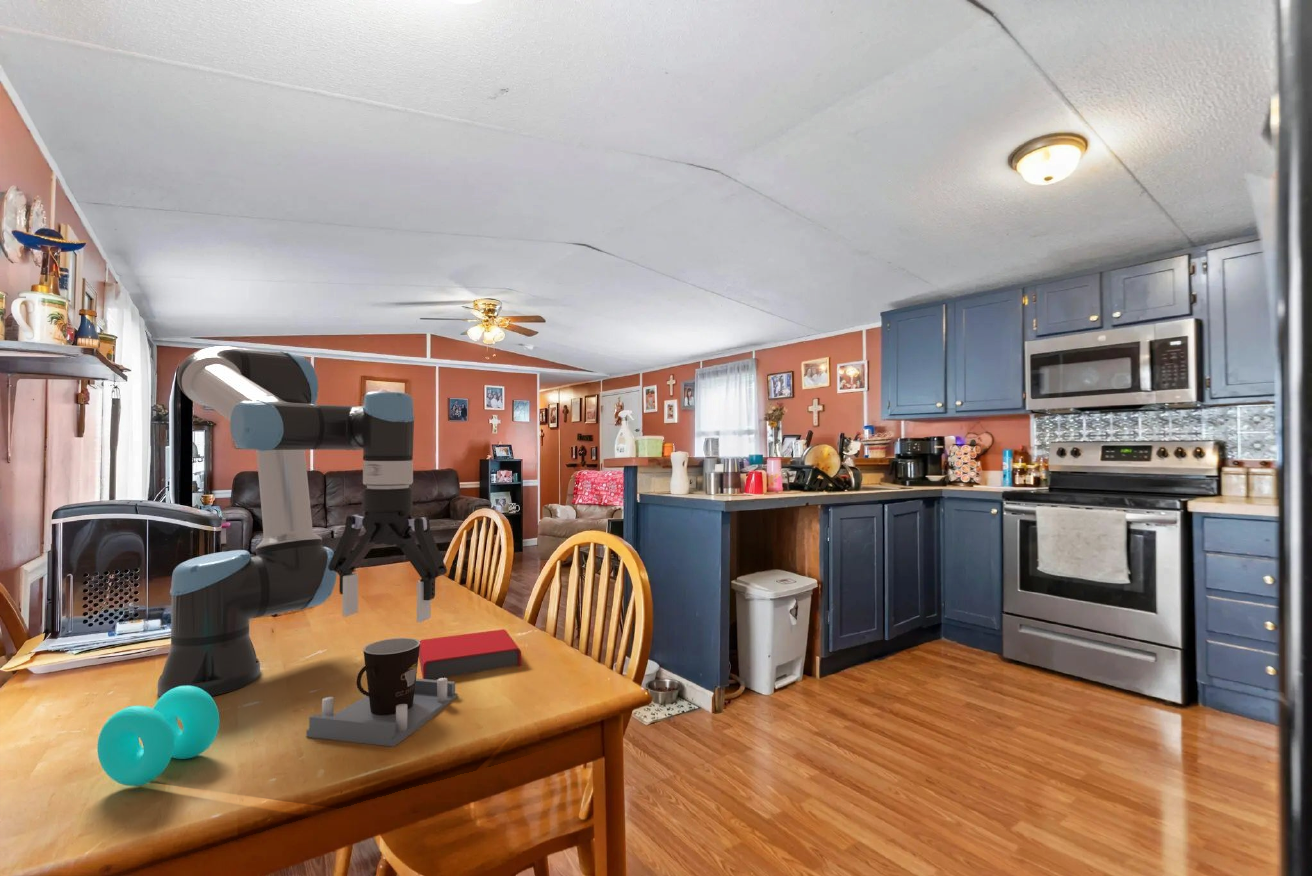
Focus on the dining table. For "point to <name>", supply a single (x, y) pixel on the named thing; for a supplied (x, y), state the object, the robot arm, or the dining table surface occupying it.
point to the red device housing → (467, 654)
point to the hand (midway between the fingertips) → (386, 617)
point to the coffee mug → (390, 674)
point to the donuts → (157, 735)
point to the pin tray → (382, 716)
